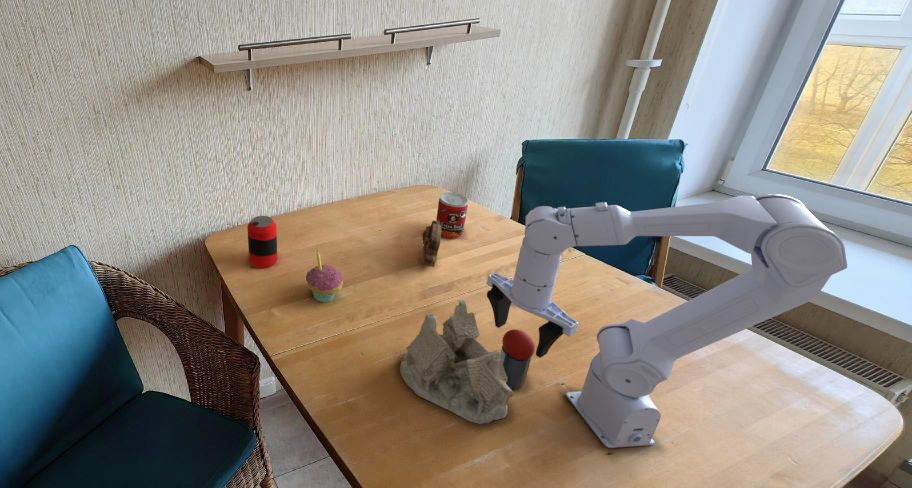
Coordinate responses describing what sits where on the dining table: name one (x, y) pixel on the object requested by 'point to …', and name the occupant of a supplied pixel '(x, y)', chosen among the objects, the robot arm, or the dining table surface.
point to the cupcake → (324, 281)
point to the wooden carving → (431, 243)
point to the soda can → (262, 242)
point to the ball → (518, 344)
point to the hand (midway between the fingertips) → (519, 339)
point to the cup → (514, 369)
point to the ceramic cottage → (457, 369)
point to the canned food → (452, 214)
